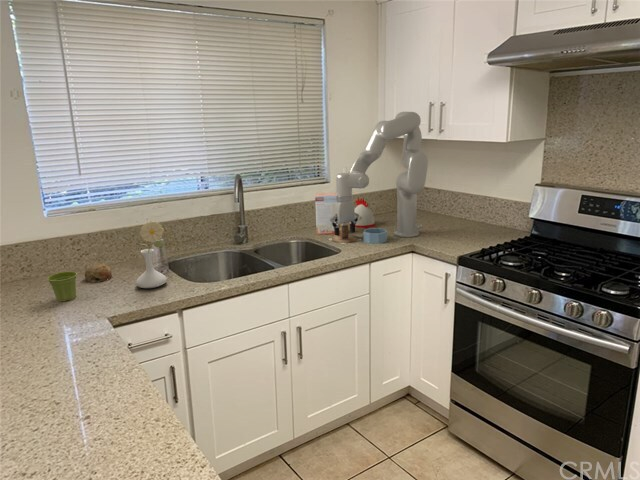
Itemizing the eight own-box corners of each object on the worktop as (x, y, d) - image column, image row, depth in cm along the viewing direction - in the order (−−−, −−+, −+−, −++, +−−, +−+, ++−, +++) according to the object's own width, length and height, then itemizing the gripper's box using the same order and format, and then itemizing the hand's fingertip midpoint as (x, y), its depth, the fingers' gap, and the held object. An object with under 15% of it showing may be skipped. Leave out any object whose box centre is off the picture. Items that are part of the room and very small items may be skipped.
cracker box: (344, 232, 250) (343, 192, 244) (343, 235, 244) (342, 194, 239) (317, 232, 251) (316, 193, 246) (316, 235, 246) (314, 195, 240)
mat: (347, 235, 243) (347, 234, 243) (362, 240, 233) (362, 239, 233) (328, 239, 236) (328, 239, 236) (342, 244, 227) (342, 244, 227)
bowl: (376, 236, 239) (376, 227, 238) (391, 241, 230) (391, 231, 229) (359, 240, 233) (359, 230, 232) (374, 245, 224) (374, 235, 223)
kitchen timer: (359, 221, 273) (359, 195, 269) (379, 224, 264) (379, 197, 260) (344, 226, 263) (344, 199, 259) (365, 229, 254) (364, 202, 250)
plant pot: (69, 304, 166) (65, 280, 163) (45, 303, 167) (40, 279, 165) (86, 294, 175) (82, 271, 172) (63, 293, 176) (59, 271, 174)
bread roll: (85, 291, 188) (81, 276, 183) (88, 273, 196) (83, 258, 190) (112, 287, 191) (109, 273, 186) (113, 270, 198) (110, 256, 193)
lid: (347, 234, 243) (347, 221, 242) (363, 239, 233) (363, 226, 231) (326, 239, 236) (326, 225, 235) (342, 244, 226) (342, 230, 224)
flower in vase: (130, 290, 177) (120, 225, 170) (145, 280, 187) (136, 217, 181) (163, 291, 175) (155, 225, 168) (176, 280, 186) (169, 217, 179)
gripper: (353, 195, 237) (353, 229, 242) (325, 200, 228) (326, 235, 232) (363, 197, 231) (363, 232, 236) (334, 202, 222) (335, 238, 226)
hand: (344, 233), depth 234 cm, fingers open, 9 cm apart
